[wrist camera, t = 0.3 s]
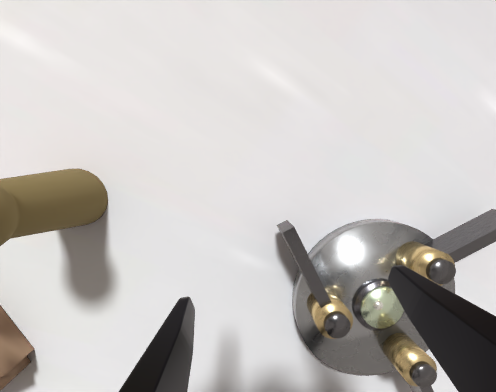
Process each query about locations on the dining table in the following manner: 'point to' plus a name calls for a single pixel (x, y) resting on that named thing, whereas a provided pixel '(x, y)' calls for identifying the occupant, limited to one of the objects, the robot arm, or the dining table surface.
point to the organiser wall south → (11, 344)
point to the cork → (49, 202)
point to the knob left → (318, 291)
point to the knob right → (448, 248)
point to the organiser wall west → (13, 372)
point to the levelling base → (366, 304)
